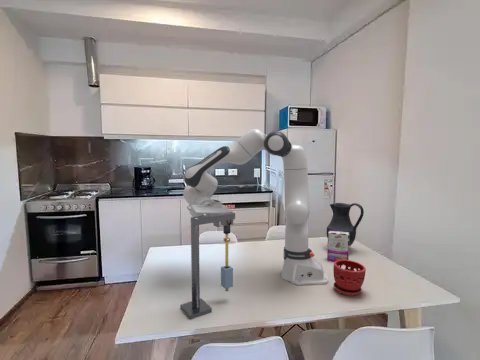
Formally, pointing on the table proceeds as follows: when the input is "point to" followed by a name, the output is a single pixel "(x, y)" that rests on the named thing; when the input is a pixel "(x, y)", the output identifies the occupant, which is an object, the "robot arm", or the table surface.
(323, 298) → the table surface
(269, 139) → the robot arm
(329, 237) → the candy bar box
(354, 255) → the table surface
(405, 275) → the table surface
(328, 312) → the table surface
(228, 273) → the sleeve
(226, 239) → the grey gallows stand
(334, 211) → the pitcher
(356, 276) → the plant pot
